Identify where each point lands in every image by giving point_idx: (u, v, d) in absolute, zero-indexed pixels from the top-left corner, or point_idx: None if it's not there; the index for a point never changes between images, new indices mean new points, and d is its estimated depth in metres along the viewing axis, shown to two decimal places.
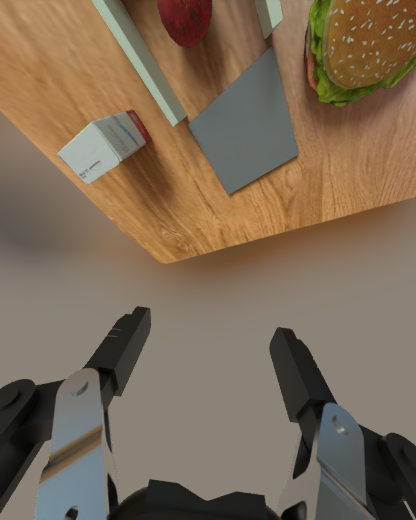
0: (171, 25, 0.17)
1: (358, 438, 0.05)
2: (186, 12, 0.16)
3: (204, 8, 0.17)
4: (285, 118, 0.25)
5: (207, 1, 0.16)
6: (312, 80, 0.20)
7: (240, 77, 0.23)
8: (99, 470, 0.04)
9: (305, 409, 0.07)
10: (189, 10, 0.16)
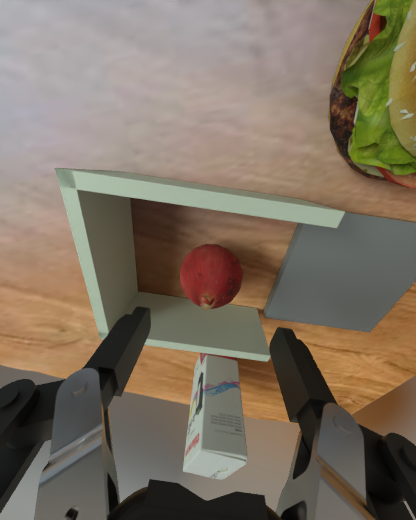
0: None
1: (358, 438, 0.05)
2: (225, 299, 0.13)
3: (235, 273, 0.13)
4: (391, 226, 0.15)
5: (233, 266, 0.13)
6: None
7: (293, 251, 0.17)
8: (99, 470, 0.04)
9: (305, 409, 0.07)
10: (226, 295, 0.13)
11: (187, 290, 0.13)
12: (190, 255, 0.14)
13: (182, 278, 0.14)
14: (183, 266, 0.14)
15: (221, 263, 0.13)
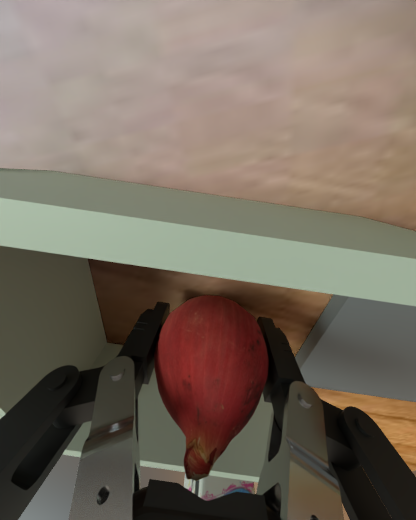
0: None
1: (318, 410, 0.06)
2: (239, 431, 0.06)
3: (258, 370, 0.07)
4: None
5: (254, 355, 0.07)
6: None
7: (348, 302, 0.10)
8: (129, 458, 0.04)
9: (276, 388, 0.07)
10: (242, 425, 0.06)
11: (164, 403, 0.07)
12: (172, 326, 0.07)
13: (156, 372, 0.07)
14: (158, 347, 0.07)
15: (231, 355, 0.06)
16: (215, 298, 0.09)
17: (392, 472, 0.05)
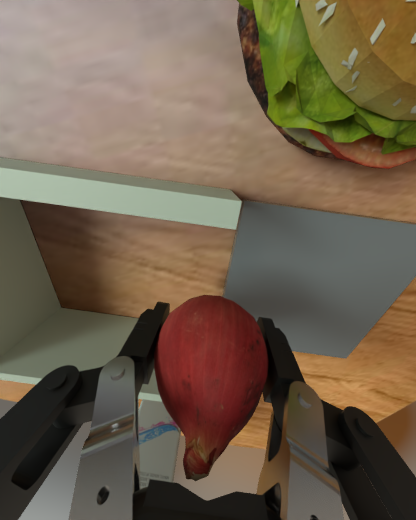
0: None
1: (318, 410, 0.06)
2: (239, 431, 0.06)
3: (257, 370, 0.07)
4: (358, 226, 0.11)
5: (254, 355, 0.07)
6: (389, 158, 0.07)
7: (234, 260, 0.13)
8: (129, 458, 0.04)
9: (276, 388, 0.07)
10: (242, 425, 0.06)
11: (164, 403, 0.07)
12: (171, 326, 0.07)
13: (155, 372, 0.07)
14: (158, 347, 0.07)
15: (230, 355, 0.06)
16: (215, 298, 0.09)
17: (392, 472, 0.05)
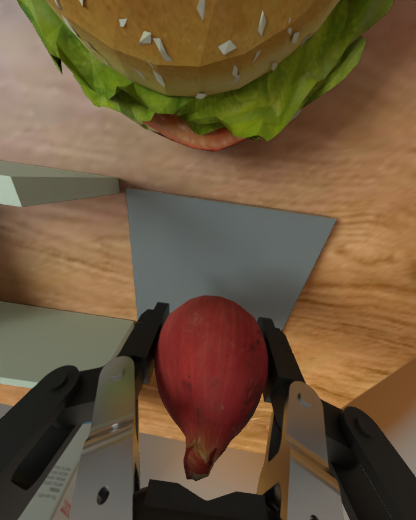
0: None
1: (318, 410, 0.06)
2: (239, 432, 0.06)
3: (258, 370, 0.07)
4: (243, 215, 0.11)
5: (254, 355, 0.07)
6: (213, 140, 0.07)
7: (133, 250, 0.13)
8: (129, 458, 0.04)
9: (276, 388, 0.07)
10: (242, 425, 0.06)
11: (164, 403, 0.07)
12: (172, 326, 0.07)
13: (156, 373, 0.07)
14: (158, 347, 0.07)
15: (231, 355, 0.06)
16: (215, 298, 0.09)
17: (392, 472, 0.05)
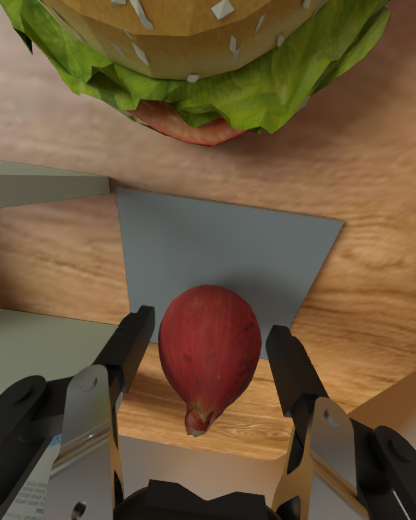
0: None
1: (348, 431, 0.06)
2: (234, 400, 0.07)
3: (251, 348, 0.07)
4: (243, 217, 0.10)
5: (248, 335, 0.08)
6: (208, 133, 0.06)
7: (125, 254, 0.12)
8: (106, 466, 0.04)
9: (298, 404, 0.07)
10: (236, 395, 0.07)
11: (167, 377, 0.08)
12: (174, 310, 0.08)
13: (160, 351, 0.08)
14: (162, 329, 0.08)
15: (226, 333, 0.07)
16: (213, 286, 0.09)
17: None
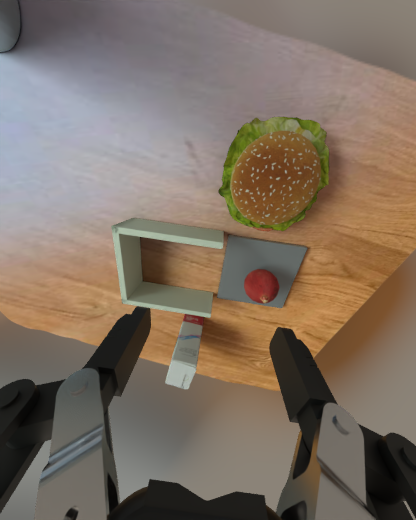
0: None
1: (358, 438, 0.05)
2: (272, 298, 0.26)
3: (276, 285, 0.26)
4: (272, 245, 0.29)
5: (275, 281, 0.26)
6: (267, 228, 0.25)
7: (225, 258, 0.31)
8: (99, 470, 0.04)
9: (305, 409, 0.07)
10: (273, 296, 0.26)
11: (252, 293, 0.26)
12: (252, 275, 0.27)
13: (248, 287, 0.27)
14: (248, 281, 0.27)
15: (270, 280, 0.26)
16: (262, 269, 0.28)
17: None
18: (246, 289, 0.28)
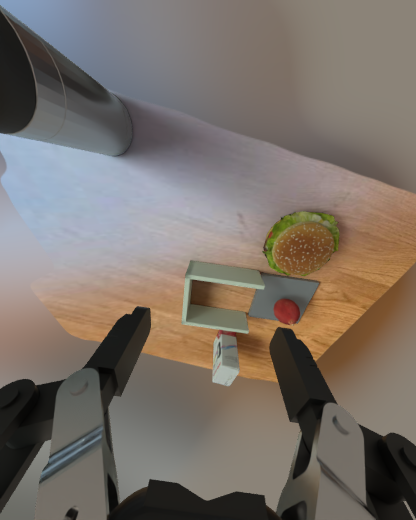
0: None
1: (358, 438, 0.05)
2: (296, 321, 0.37)
3: (299, 312, 0.37)
4: (294, 281, 0.40)
5: (298, 309, 0.37)
6: None
7: (258, 289, 0.41)
8: (99, 470, 0.04)
9: (305, 409, 0.07)
10: (297, 320, 0.37)
11: (282, 318, 0.37)
12: (281, 304, 0.38)
13: (279, 313, 0.38)
14: (279, 309, 0.38)
15: (295, 309, 0.37)
16: (287, 299, 0.39)
17: None
18: (276, 314, 0.38)
